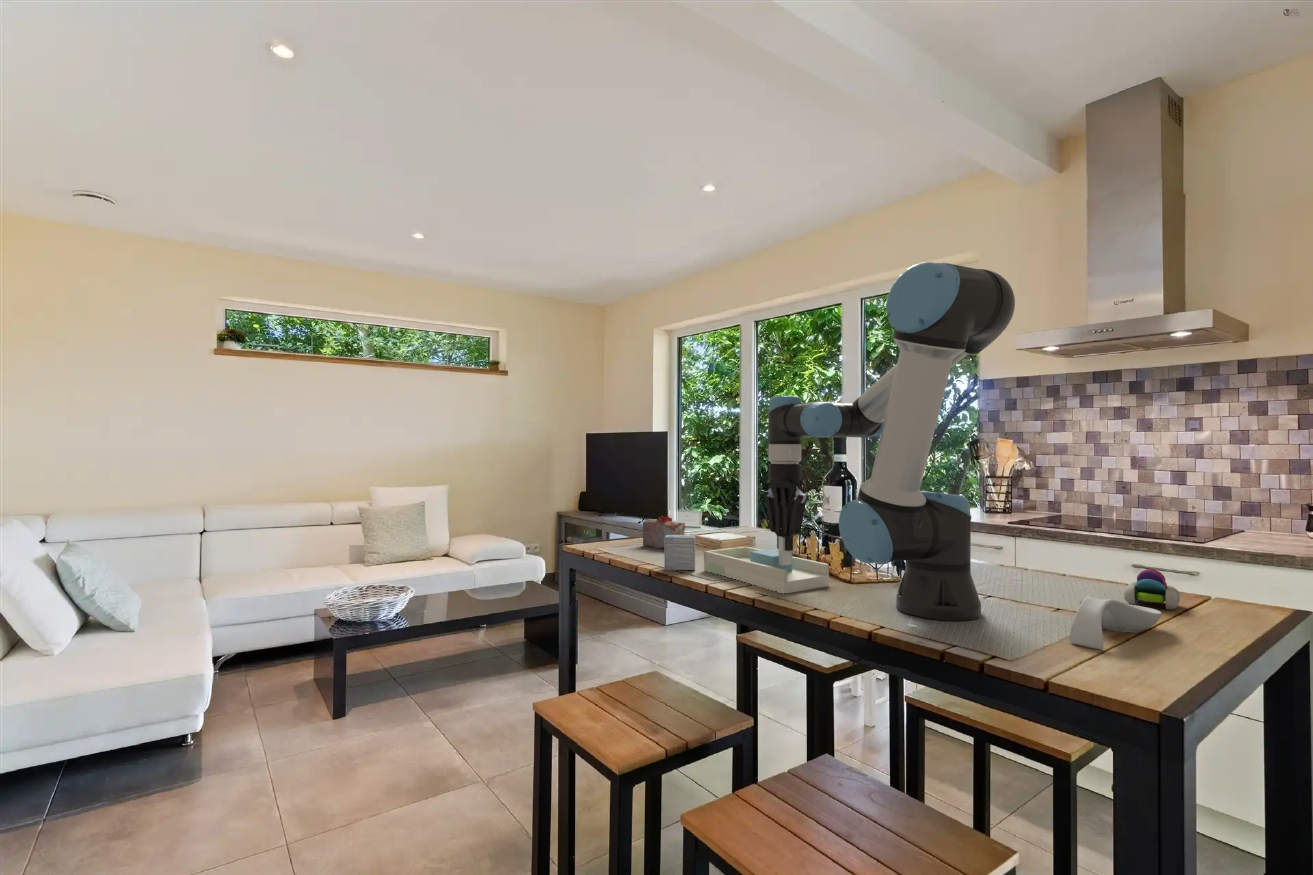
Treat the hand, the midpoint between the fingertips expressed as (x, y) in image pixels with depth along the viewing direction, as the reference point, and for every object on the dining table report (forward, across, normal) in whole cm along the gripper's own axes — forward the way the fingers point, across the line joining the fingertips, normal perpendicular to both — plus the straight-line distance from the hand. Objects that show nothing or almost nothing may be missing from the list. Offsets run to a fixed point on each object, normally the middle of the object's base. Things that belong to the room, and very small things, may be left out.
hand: (785, 564), depth 146 cm
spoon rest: (+5, -58, -21) cm, 61 cm away
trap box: (+5, +8, 0) cm, 9 cm away
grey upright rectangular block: (+5, +27, +11) cm, 30 cm away
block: (+2, +5, 0) cm, 5 cm away
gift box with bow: (+5, +58, -4) cm, 59 cm away
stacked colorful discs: (+5, -53, -50) cm, 73 cm away
